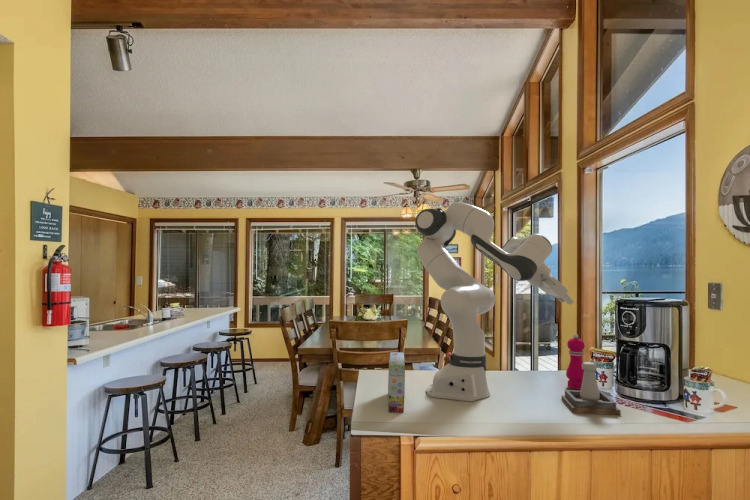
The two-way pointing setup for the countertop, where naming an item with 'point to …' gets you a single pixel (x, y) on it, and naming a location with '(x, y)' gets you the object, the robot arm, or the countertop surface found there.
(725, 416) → the countertop surface
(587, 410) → the tray
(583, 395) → the salt shaker
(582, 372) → the pepper mill
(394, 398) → the snack box
